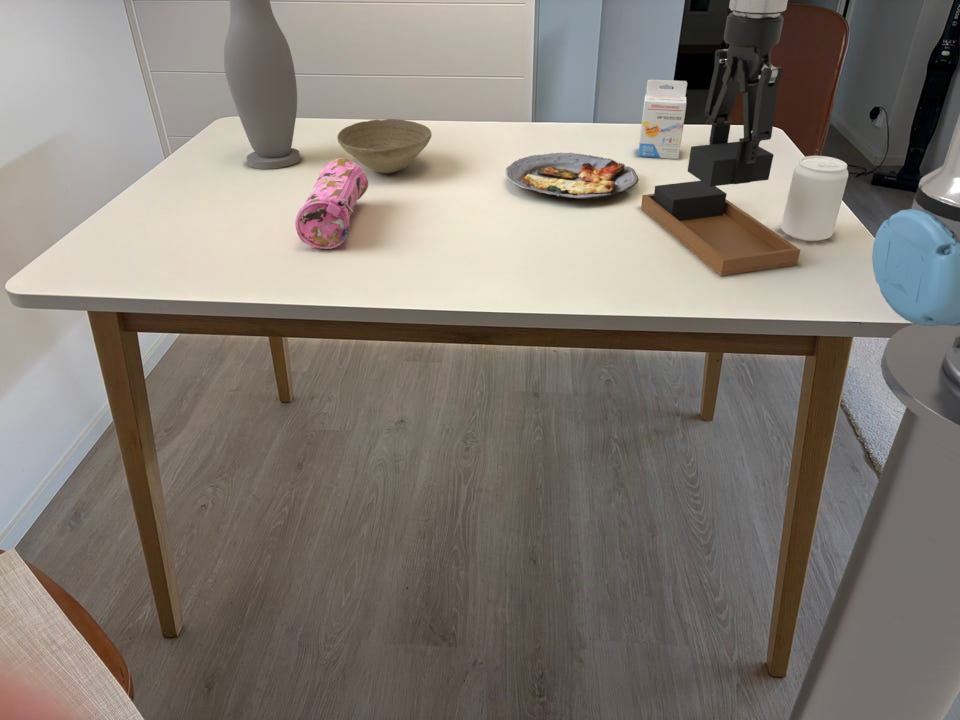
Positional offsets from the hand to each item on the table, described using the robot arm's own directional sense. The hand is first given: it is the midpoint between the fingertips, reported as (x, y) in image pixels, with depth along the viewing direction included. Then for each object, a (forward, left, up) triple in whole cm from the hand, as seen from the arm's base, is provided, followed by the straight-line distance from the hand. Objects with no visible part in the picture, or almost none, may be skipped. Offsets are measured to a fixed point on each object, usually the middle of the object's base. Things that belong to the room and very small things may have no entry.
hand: (727, 173), depth 117 cm
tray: (+3, -1, -12) cm, 12 cm away
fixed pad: (+12, -1, -11) cm, 16 cm away
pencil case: (+25, +59, -12) cm, 65 cm away
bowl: (+50, +46, -12) cm, 69 cm away
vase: (+63, +68, -12) cm, 93 cm away
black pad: (0, 0, 0) cm, 0 cm away
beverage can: (-1, -16, -12) cm, 20 cm away
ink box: (+43, -11, -12) cm, 46 cm away
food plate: (+32, +13, -12) cm, 36 cm away
